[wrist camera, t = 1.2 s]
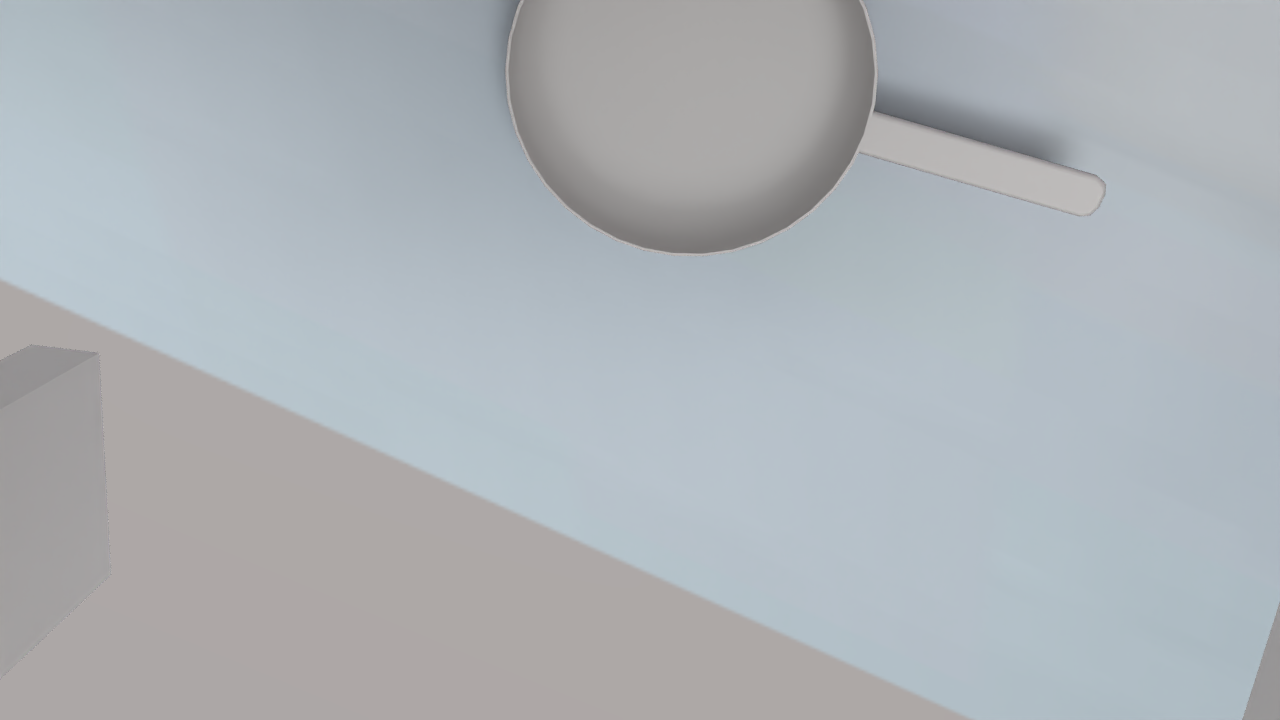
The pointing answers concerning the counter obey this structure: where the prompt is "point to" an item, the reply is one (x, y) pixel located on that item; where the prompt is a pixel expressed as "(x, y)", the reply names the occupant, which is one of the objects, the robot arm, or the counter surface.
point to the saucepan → (726, 119)
